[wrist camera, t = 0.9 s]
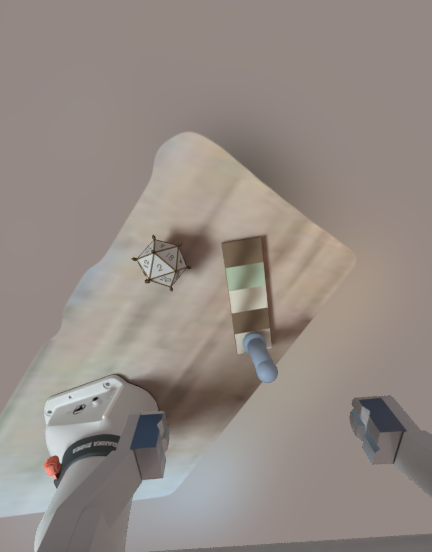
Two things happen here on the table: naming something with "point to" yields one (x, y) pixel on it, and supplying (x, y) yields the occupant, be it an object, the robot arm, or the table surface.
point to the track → (247, 289)
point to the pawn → (260, 356)
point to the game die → (162, 263)
